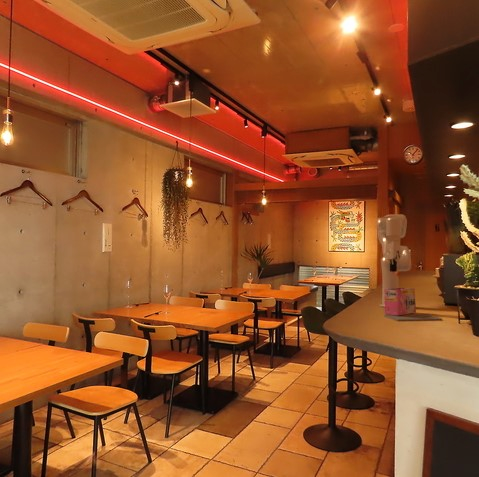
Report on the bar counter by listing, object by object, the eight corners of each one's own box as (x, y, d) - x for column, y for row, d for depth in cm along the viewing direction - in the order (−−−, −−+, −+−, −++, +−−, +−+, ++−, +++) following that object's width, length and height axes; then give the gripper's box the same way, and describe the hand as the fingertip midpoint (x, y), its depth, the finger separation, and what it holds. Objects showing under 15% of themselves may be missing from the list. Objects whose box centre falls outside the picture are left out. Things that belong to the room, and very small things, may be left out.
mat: (384, 316, 219) (384, 314, 219) (426, 315, 222) (426, 314, 222) (397, 321, 205) (397, 319, 205) (442, 320, 208) (442, 318, 208)
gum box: (403, 311, 236) (402, 287, 237) (417, 312, 231) (416, 288, 232) (384, 314, 219) (383, 289, 220) (398, 315, 214) (398, 289, 215)
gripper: (380, 239, 241) (380, 270, 241) (393, 239, 226) (393, 272, 226) (392, 239, 242) (392, 270, 242) (406, 239, 227) (406, 272, 227)
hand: (393, 271), depth 234 cm, fingers closed
